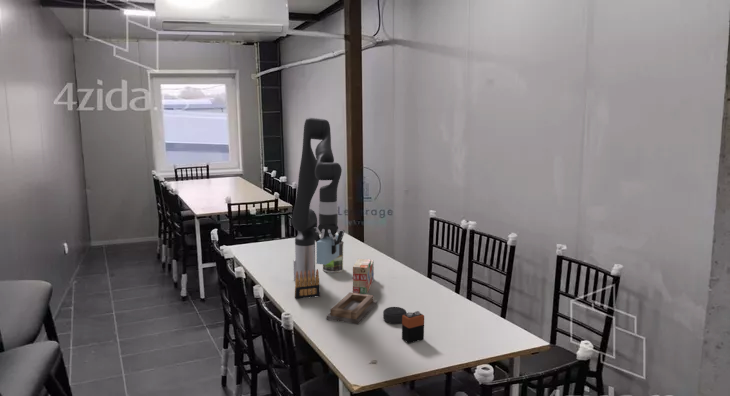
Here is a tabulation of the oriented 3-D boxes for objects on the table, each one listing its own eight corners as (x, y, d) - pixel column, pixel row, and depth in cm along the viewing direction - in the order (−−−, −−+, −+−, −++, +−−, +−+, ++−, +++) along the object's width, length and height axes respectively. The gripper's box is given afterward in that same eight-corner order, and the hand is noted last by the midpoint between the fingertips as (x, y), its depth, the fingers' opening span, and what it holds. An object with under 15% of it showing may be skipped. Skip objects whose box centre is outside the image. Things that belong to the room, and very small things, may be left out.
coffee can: (338, 273, 266) (338, 245, 264) (319, 271, 270) (318, 243, 268) (346, 268, 276) (346, 240, 273) (328, 265, 280) (328, 238, 277)
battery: (401, 339, 193) (401, 312, 191) (416, 335, 196) (417, 308, 194) (408, 344, 189) (409, 316, 187) (424, 339, 192) (425, 312, 191)
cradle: (326, 319, 210) (326, 309, 209) (347, 300, 230) (347, 291, 230) (358, 324, 205) (358, 314, 205) (376, 304, 226) (377, 295, 225)
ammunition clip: (295, 299, 231) (295, 271, 229) (294, 297, 233) (294, 270, 231) (320, 296, 235) (320, 269, 233) (318, 294, 237) (318, 268, 235)
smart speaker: (399, 326, 204) (399, 316, 203) (378, 321, 209) (378, 311, 208) (410, 318, 211) (410, 309, 211) (390, 314, 216) (390, 304, 215)
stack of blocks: (360, 278, 260) (360, 253, 258) (373, 279, 259) (374, 253, 257) (352, 293, 239) (352, 266, 237) (366, 294, 238) (367, 267, 236)
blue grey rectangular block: (316, 263, 219) (316, 241, 217) (330, 254, 232) (330, 234, 230) (325, 264, 217) (325, 242, 216) (339, 255, 230) (339, 234, 229)
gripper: (308, 212, 220) (308, 253, 223) (341, 215, 215) (340, 257, 218) (316, 209, 227) (316, 249, 230) (348, 211, 222) (347, 252, 225)
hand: (328, 253), depth 224 cm, fingers closed on blue grey rectangular block, 4 cm apart
